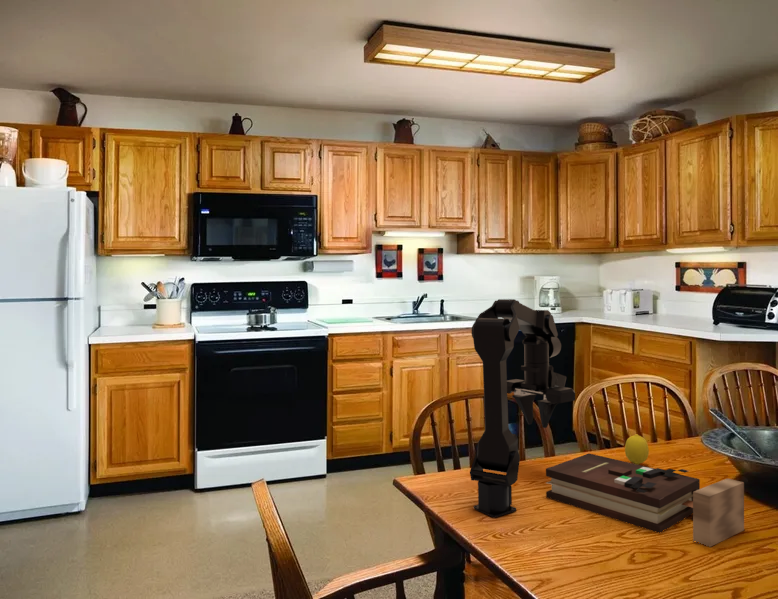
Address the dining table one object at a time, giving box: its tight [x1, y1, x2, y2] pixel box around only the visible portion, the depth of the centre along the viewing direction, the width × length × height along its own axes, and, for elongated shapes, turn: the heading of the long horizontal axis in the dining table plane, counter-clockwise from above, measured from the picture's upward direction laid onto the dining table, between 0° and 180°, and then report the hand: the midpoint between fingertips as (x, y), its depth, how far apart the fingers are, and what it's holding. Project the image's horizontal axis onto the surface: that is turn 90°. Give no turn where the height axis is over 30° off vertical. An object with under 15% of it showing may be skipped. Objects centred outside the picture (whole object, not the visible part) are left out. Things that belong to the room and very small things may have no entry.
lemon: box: [624, 433, 649, 465], centre depth 153 cm, size 6×6×8 cm
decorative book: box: [545, 452, 701, 534], centre depth 128 cm, size 19×8×30 cm
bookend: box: [692, 477, 745, 548], centre depth 111 cm, size 12×3×9 cm, turn 124°
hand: (537, 425), depth 147 cm, fingers open, 4 cm apart
